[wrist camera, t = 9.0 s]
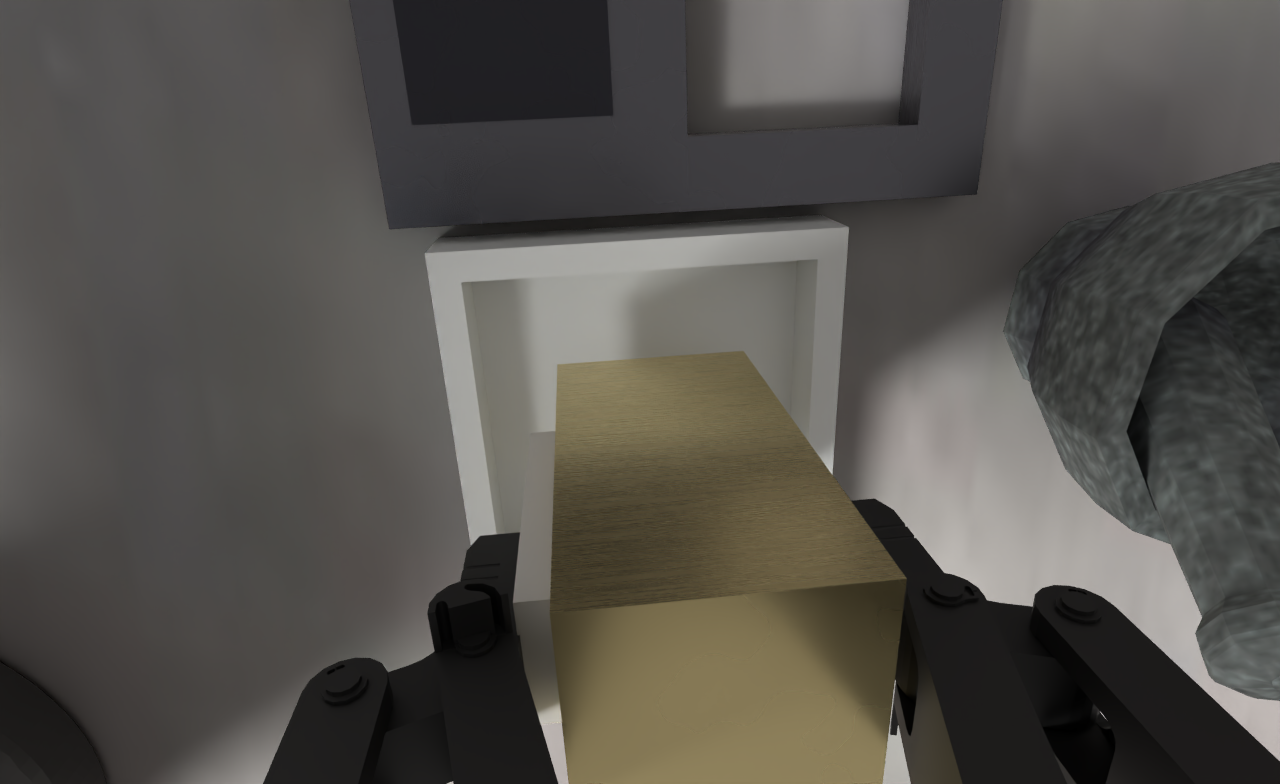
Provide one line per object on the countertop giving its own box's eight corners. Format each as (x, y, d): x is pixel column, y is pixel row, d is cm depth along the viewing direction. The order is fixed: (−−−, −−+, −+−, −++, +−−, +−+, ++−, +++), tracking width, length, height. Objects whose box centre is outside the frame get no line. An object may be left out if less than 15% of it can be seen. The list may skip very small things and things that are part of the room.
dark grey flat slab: (398, 221, 20) (388, 229, 19) (322, -233, 16) (302, -260, 15) (954, 189, 21) (978, 195, 20) (1007, -240, 17) (1040, -266, 16)
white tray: (487, 564, 24) (480, 607, 22) (438, 237, 20) (424, 253, 18) (804, 534, 25) (825, 572, 23) (821, 214, 21) (849, 226, 19)
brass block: (572, 525, 21) (577, 863, 12) (557, 364, 19) (550, 614, 10) (741, 510, 21) (877, 826, 12) (743, 350, 19) (906, 579, 10)
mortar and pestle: (1141, 74, 20) (1833, 42, 9) (1297, 277, 23) (1965, 438, 12) (860, 367, 23) (1138, 617, 12) (1032, 517, 26) (1384, 829, 15)
